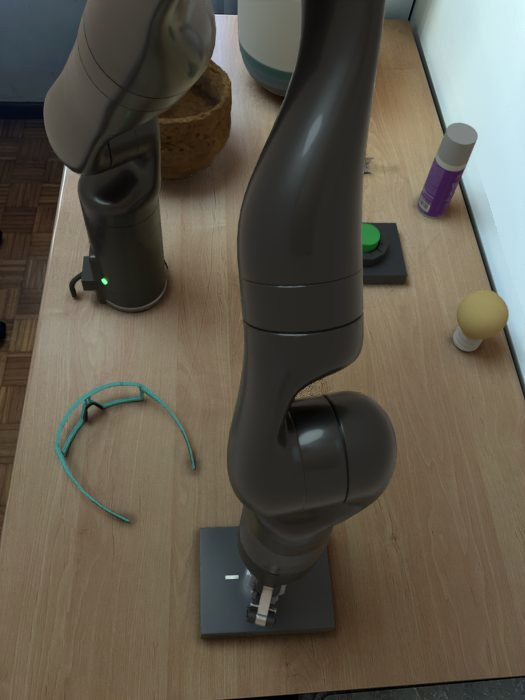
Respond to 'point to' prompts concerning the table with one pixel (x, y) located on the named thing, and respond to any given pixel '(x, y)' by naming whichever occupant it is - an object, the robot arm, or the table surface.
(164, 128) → the bowl
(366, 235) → the button
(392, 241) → the block
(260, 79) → the planter
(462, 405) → the table surface
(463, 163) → the container
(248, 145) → the table surface
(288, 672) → the table surface
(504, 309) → the light bulb
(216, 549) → the panel
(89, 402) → the teal curved thin frame
